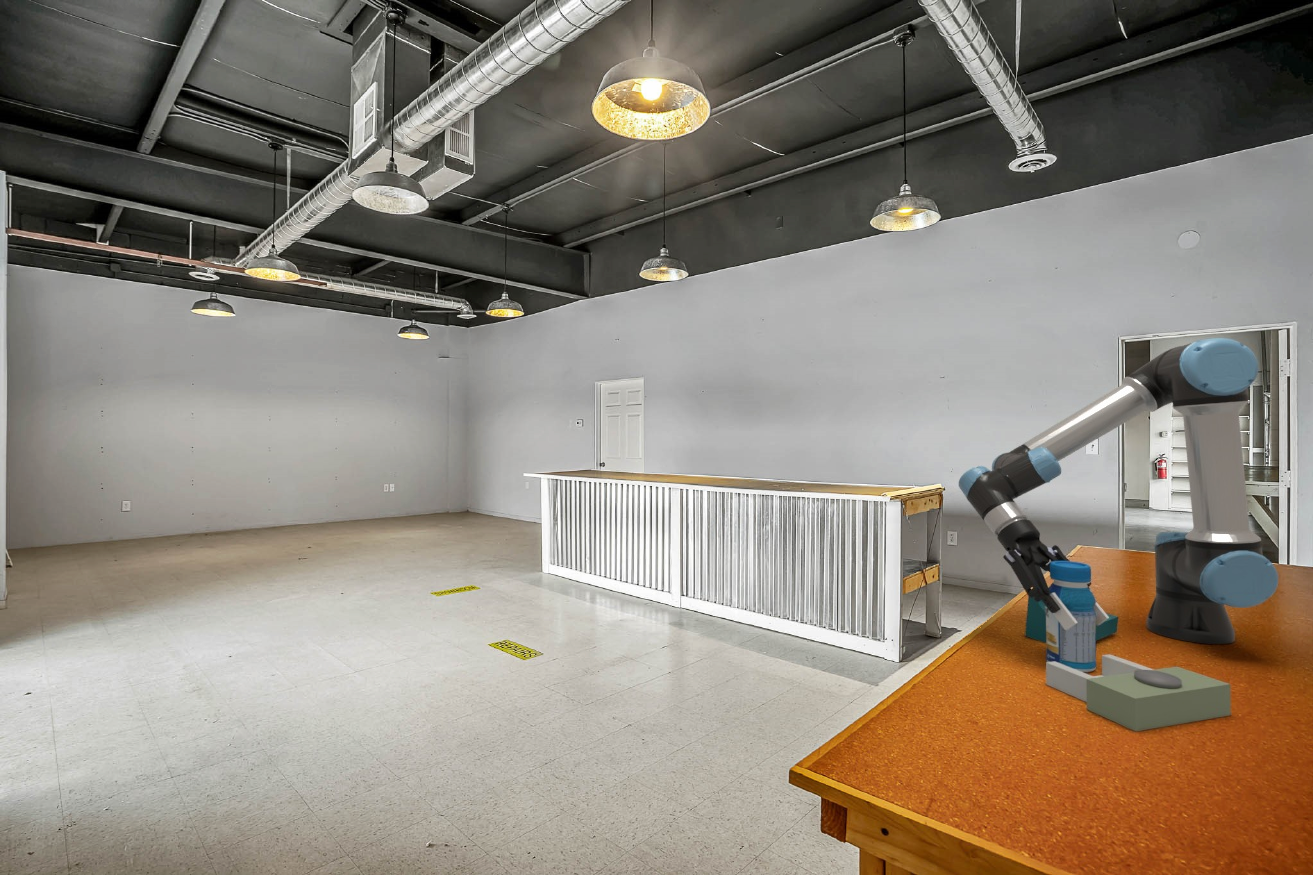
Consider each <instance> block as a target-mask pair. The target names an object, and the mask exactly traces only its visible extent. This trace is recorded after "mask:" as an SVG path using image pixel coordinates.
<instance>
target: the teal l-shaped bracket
mask: <svg viewBox="0 0 1313 875" xmlns="http://www.w3.org/2000/svg"><path fill="white" fill-rule="evenodd" d="M1027 596H1028V595H1027ZM1034 598H1035V597H1033V598H1031V597H1029V596H1028V599H1027V608H1026V609H1027V612H1026V620H1025V632H1024V637H1027V638H1030V639H1033V640H1035V641H1039V642H1041V643H1045V644H1046V613H1045V606H1046V605H1045V604H1044V603H1043V601H1042V600H1040V601H1039V602H1037V601H1035V600H1034ZM1105 613H1106V614H1107V615H1108V617H1109V619H1107V620H1106V621H1104V622H1103V623H1102V624H1100V625H1096V642H1097V641H1098V640H1101V639H1104V638H1106V637H1109V636H1111V635H1114V634H1117V632H1118V624H1119V616H1117V615H1113V614H1110V613H1107V612H1105Z"/></svg>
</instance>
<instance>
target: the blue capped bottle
mask: <svg viewBox="0 0 1313 875" xmlns="http://www.w3.org/2000/svg"><path fill="white" fill-rule="evenodd" d="M1050 562H1051V561H1050ZM1050 562H1049V563H1050ZM1049 576H1050V579H1051V580H1052V581H1053V582H1052V583H1051V584H1050V586H1048V588H1049V591H1050V593H1049V594H1051V593H1055V594H1056V595H1057V596H1058V598H1059V599H1060V600H1061V601H1062V603H1063V604H1064V605H1065V607H1066V608H1067V609H1068V610H1069V612H1070V613H1071V614H1072V616H1073V617H1074V618H1075V619H1076V621H1077V622H1078V623H1077V624H1076V625H1074V626H1073V627H1072V628H1070V629H1069V630H1065V629H1064V628H1063V627H1062V625H1061V624H1060V623H1059V621H1058V620H1057V619H1056V617H1055V616H1054V615H1053V613H1051V612H1050V611H1049V609H1048V608H1047V607H1046V606H1045V613H1046V643H1045V644H1046V648H1045V649H1046V652H1045V653H1046V655H1045V660H1046V662H1053V661H1055V662H1058V663H1060V664H1063V665H1066V666H1068V667H1071V668H1073V669H1076V670H1078V671H1081V672H1083V673H1091V672H1094V671H1095V670H1096V669H1097V660H1096V659H1097V657H1096V656H1097V650H1096V649H1097V641H1096V619H1097V613H1096V611H1095V609H1094V605H1095V604H1096V601H1097V600H1096V597H1095V595H1094V592H1093V591H1092V590H1091V588H1090V586H1089V587H1088V586H1087V584H1089V583H1090V582H1091V581H1092V568H1091V565H1089V564H1088V563H1084V562H1078V561H1073V560H1069V561H1053V562H1051V563H1050V572H1049Z"/></svg>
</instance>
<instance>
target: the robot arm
mask: <svg viewBox="0 0 1313 875" xmlns="http://www.w3.org/2000/svg"><path fill="white" fill-rule="evenodd" d="M1258 373H1259V362H1258V358H1257V357H1256V355H1255V353H1254V352H1253V350H1251V348H1249V347H1248V346H1247V345H1245V344H1243V343H1241V342H1240V341H1237V340H1235V339H1231V338H1225V337H1216V338H1206V339H1201V340H1196V341H1194V342H1192V343H1187V344H1184V345H1180V346H1175V347H1173V348H1170V349H1168V350H1166V351H1163V352H1162V353H1160V354H1159V355H1157V356H1156V357H1154V358H1153V359H1151V360H1150V361H1148V362H1147V363H1146V364H1144V365H1142V366H1141V367H1139V368H1138V369H1137V370H1135V371H1134V372H1132V373H1130V374H1128V375H1127V376H1125V377H1124V378H1122V382H1121V384H1120V385H1119V386H1117V387H1116V388H1114V389H1112V390H1111V391H1109V392H1108V393H1106V394H1104V395H1103V396H1100V397H1099V398H1097V399H1095V400H1094V401H1093V402H1090V403H1089V404H1087V405H1086V406H1084V407H1082V408H1081V409H1079V410H1077V411H1076V412H1074V413H1073V414H1071V415H1069V416H1067V417H1065V418H1064V419H1062V420H1060V421H1059V422H1057V423H1056V424H1054V425H1052V426H1051V427H1049V428H1048V429H1046V430H1044V431H1042V432H1040V433H1039V434H1038V435H1037V434H1036V435H1035V436H1034V437H1032V438H1031V439H1029V440H1026V441H1025V442H1024V443H1022V444H1021V445H1018V446H1017V447H1015V448H1013V449H1012V450H1010V451H1008V452H1004V453H1001V454H1000V455H998V456H996V457H995V458H994V460H993V461H992V464H991V470H990V469H989V468H988V467H986V466H983V465H980V466H979V465H978V466H977V467H972V468H970V469H968V470H966V471H965V472H964V473H963V474H962V475H961V476H960V478H959V479H958V487H959V489H960V490H961V492H962V493H963V495H964V497H965V498H966V500H967V501H968V502H969V504H970V505H971V506H972V508H973V509H974V510H975V511H976V513H977V514H978V515H979V516H980V518H981V519H982V520H983V522H984V523H985V524H986V525H987V527H988V528H989V529H990V531H991V532H992V533H993V535H994V536H996V537H997V540H998V541H999V543H1000V544H1001V546H1002V547H1003V548H1004V550H1005V551H1006V553H1005V554H1004V555H1003V557H1002V558H1003V559H1004V560H1005V562H1007V564H1008V565H1009V566H1010V567H1011V569H1012V571H1013V573H1014V574H1015V576H1016V577H1017V580H1018V581H1019V582H1020V585H1021V586H1022V588H1023V589H1024V591H1025V593H1026V594H1027V596H1029V597H1031V598H1033V597H1035V598H1034V600H1035V601H1037V602H1039V601H1040V600H1042V601H1043V603H1044V604H1045V605H1046V607H1047V608H1048V609H1049V611H1050V612H1051V613H1053V615H1054V616H1055V617H1056V619H1057V620H1058V621H1059V623H1060V624H1061V625H1062V627H1063V628H1064V629H1065V630H1069V629H1070V628H1072V627H1073V626H1074V625H1076V624H1077V623H1078V622H1077V621H1076V619H1075V618H1074V617H1073V616H1072V614H1071V613H1070V612H1069V610H1068V609H1067V608H1066V607H1065V605H1064V604H1063V603H1062V601H1061V600H1060V599H1059V598H1058V596H1057V595H1056V594H1055V593H1051V594H1049V593H1050V591H1049V586H1048V583H1047V581H1046V579H1045V576H1044V573H1043V571H1044V572H1048V573H1050V563H1051V562H1053V561H1070V560H1069V558H1068V557H1067V556H1066V555H1065V554H1064V552H1062V550H1061V548H1060V547H1059V546H1058V545H1056V544H1055V545H1054V544H1053V546H1052V547H1049V546H1047V545H1046V544H1044V543H1043V542H1042V541H1041V539H1040V537H1041V532H1040V530H1039V529H1038V528H1037V527H1036V526H1035V524H1034V523H1033V522H1032V521H1031V520H1029V519H1028V516H1027V514H1025V512H1024V511H1023V510H1022V508H1020V506H1019V505H1018V503H1016V502H1015V499H1017V498H1019V497H1020V496H1023V495H1025V494H1027V493H1028V492H1031V491H1033V490H1035V489H1036V488H1040V487H1041V486H1044V484H1047V483H1050V482H1051V481H1053V480H1054V479H1056V478H1058V477H1059V476H1061V474H1062V467H1061V465H1060V462H1059V461H1061V460H1063V459H1065V458H1066V457H1068V456H1070V455H1072V454H1073V453H1075V452H1077V451H1079V450H1080V449H1082V448H1084V447H1086V446H1087V445H1089V444H1091V443H1092V442H1094V441H1095V440H1097V439H1100V438H1101V437H1103V436H1105V435H1107V434H1108V433H1110V432H1111V431H1113V430H1114V429H1116V428H1118V427H1120V426H1122V425H1124V424H1125V423H1128V421H1131V420H1133V419H1134V418H1136V417H1137V416H1139V415H1141V414H1142V413H1144V412H1151V413H1152V412H1156V411H1157V410H1159V409H1161V408H1164V406H1167V405H1169V404H1172V408H1173V410H1175V411H1177V412H1178V413H1179V414H1181V415H1182V417H1183V428H1184V439H1185V440H1184V441H1185V450H1186V459H1187V462H1186V463H1187V471H1188V482H1189V491H1190V492H1189V494H1190V505H1191V514H1192V523H1193V528H1192V530H1190V531H1189V532H1181V531H1180V532H1174V531H1173V532H1172V531H1162V532H1159V533H1157V534H1156V536H1155V544H1154V549H1155V550H1154V552H1155V553H1154V558H1155V559H1154V560H1155V565H1154V566H1155V597H1154V599H1153V601H1152V605H1151V606H1150V608H1149V612H1148V614H1147V616H1146V628H1147V630H1149V631H1150V632H1152V633H1155V634H1157V635H1159V636H1163V637H1167V638H1170V639H1175V640H1178V641H1179V640H1180V641H1185V642H1191V643H1199V644H1206V645H1207V644H1208V645H1209V644H1210V645H1211V644H1212V645H1226V644H1227V645H1228V644H1232V643H1234V642H1235V638H1236V635H1235V634H1236V632H1235V629H1234V627H1233V623H1232V621H1231V619H1230V616H1229V614H1228V612H1227V611H1228V610H1226V606H1227V607H1232V608H1237V609H1238V608H1244V609H1245V608H1251V607H1255V606H1258V605H1261V604H1262V603H1264V602H1266V601H1267V600H1268V599H1270V598H1271V597H1272V596H1273V595H1274V594H1275V592H1276V590H1277V589H1278V585H1279V573H1278V571H1277V568H1276V566H1275V565H1274V564H1273V563H1272V561H1270V559H1268V558H1267V557H1266V556H1265V555H1263V554H1264V553H1263V546H1262V545H1263V544H1262V538H1261V537H1260V536H1259V535H1258V534H1256V533H1255V532H1254V531H1252V530H1251V529H1250V520H1249V519H1250V518H1249V508H1248V499H1247V498H1248V497H1247V488H1246V478H1245V476H1246V475H1245V468H1244V467H1245V466H1244V457H1243V454H1244V453H1243V445H1242V444H1243V443H1242V434H1241V425H1240V424H1241V422H1240V414H1239V413H1240V411H1241V410H1242V409H1243V408H1244V407H1245V406H1246V405H1247V404H1249V398H1248V397H1249V396H1248V388H1249V387H1251V385H1252V384H1253V383H1254V382H1255V380H1256V378H1257V377H1258ZM1042 570H1043V571H1042ZM1091 585H1092V582H1091V581H1090V583H1089V584H1087V586H1088V587H1089V588H1090V587H1091ZM1094 609H1095V611H1096V613H1097V619H1096V625H1100V624H1102V623H1103V622H1104V621H1106V620H1107V619H1109V617H1108V615H1107V614H1108V613H1107V612H1105V610H1104V609H1103V608H1102V606H1100V604H1099V603H1098V601H1097V600H1096V604H1095V605H1094ZM1106 613H1107V614H1106Z"/></svg>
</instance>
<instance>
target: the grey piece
mask: <svg viewBox="0 0 1313 875" xmlns="http://www.w3.org/2000/svg"><path fill="white" fill-rule="evenodd" d="M1045 664H1046V665H1045V680H1046V681H1045V685H1047V686H1049V687H1051V688H1053V689H1056V690H1058V691H1061V692H1063V693H1065V694H1066V695H1070V696H1071V697H1074V698H1076V699H1078V700H1080V701H1083V702H1085V703H1086V710H1087V711H1090V712H1092V713H1094V714H1096V715H1098V716H1101V717H1102V718H1105V719H1108V720H1110V721H1112V722H1114V723H1115V724H1116V723H1117V724H1118V725H1120V726H1123V727H1125V728H1127V729H1129V730H1131V731H1133V732H1140V731H1146V730H1152V729H1157V728H1164V727H1169V726H1176V725H1183V724H1187V723H1194V722H1199V721H1206V720H1209V719H1210V720H1212V719H1217V718H1222V717H1229V716H1231V715H1232V711H1231V710H1232V709H1231V708H1232V706H1231V703H1232V702H1231V701H1232V700H1231V699H1232V698H1231V696H1232V695H1231V694H1232V693H1231V690H1232V689H1231V683H1228V682H1225V681H1222V680H1219V679H1216V678H1213V677H1210V676H1207V675H1204V674H1201V673H1198V672H1195V671H1192V670H1188V669H1185V668H1183V667H1179V666H1173V667H1172V666H1171V667H1163V668H1156V669H1154V668H1150V667H1148V666H1145V665H1142V664H1140V663H1136V662H1133V661H1130V660H1128V659H1125V658H1121V657H1118V656H1117V655H1116V656H1115V655H1113V654H1110V653H1109V654H1102V655H1101V675H1100V674H1099V675H1091V674H1088V673H1087V672H1081V671H1078V670H1076V669H1073V668H1071V667H1068V666H1066V665H1063V664H1060V663H1058V662H1055V661H1053V662H1047V661H1046V663H1045Z"/></svg>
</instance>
